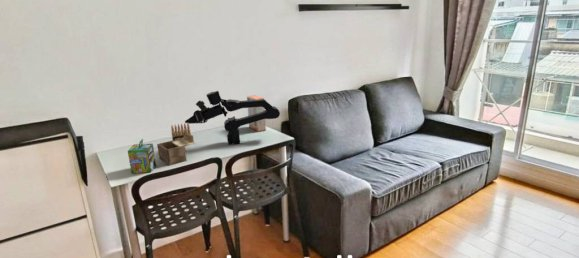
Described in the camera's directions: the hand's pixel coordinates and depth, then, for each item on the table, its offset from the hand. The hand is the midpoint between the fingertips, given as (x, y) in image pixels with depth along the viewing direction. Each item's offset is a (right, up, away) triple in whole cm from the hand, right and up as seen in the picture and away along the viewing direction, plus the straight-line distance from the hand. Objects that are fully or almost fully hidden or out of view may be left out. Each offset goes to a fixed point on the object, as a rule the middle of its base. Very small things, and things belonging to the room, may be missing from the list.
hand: (186, 122), depth 189 cm
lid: (+1, -11, -12) cm, 16 cm away
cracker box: (+36, -4, +34) cm, 50 cm away
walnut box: (-3, -19, -13) cm, 24 cm away
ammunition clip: (-6, -12, +11) cm, 18 cm away
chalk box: (-13, -23, -24) cm, 36 cm away
